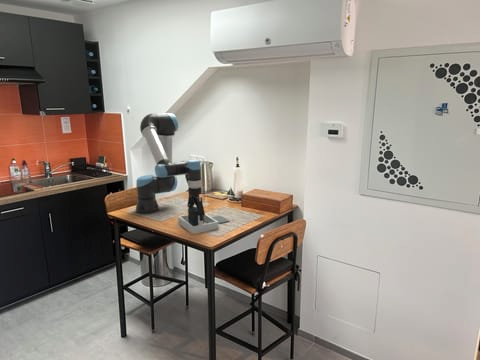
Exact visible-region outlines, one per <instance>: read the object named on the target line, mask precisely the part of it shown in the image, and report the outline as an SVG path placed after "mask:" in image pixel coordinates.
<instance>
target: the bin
mask: <svg viewBox="0 0 480 360" xmlns="http://www.w3.org/2000/svg"><path fill="white" fill-rule="evenodd" d="M177 217H178V218H177V220H178V221H177V222H178V224H179V225H180V226H182V227H183V228H185V229H186V230H187V231H188V232H189V233H190V234H192V235H195V234H199V233H204V232H208V231H213V230H219V226H220V225H219V224H218V221H216V220H214V219H213V218H211V217H212V216H209V215H208V214H206V213H205V215H204V222H206V223H204V224H202V225H197V226H192V225H191V224H190V223H189V219H188V214H183V215H179V216H177Z"/></svg>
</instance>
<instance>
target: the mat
mask: <svg viewBox="0 0 480 360" xmlns="http://www.w3.org/2000/svg"><path fill="white" fill-rule="evenodd" d="M210 217H211V218H213V219H214V220H216V221H218V225H220V224H225V223H229V222H230V220H229V219H227V218H226V217H224V216H222V215H220V214H219V215H216V216H210Z"/></svg>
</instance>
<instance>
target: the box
mask: <svg viewBox="0 0 480 360" xmlns="http://www.w3.org/2000/svg"><path fill="white" fill-rule="evenodd" d="M187 215H188V219H189V221H188V223H190V224H191V225H192V226H197V225H198V211H197V207H196V206H194V207H192V208H189V207H187ZM203 224H205V220H204V215H203Z"/></svg>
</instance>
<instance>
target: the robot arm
mask: <svg viewBox="0 0 480 360" xmlns="http://www.w3.org/2000/svg"><path fill="white" fill-rule="evenodd" d="M139 125H140V127H139V128H140V129H139V130H140V133H141V136H142V137H143V138H145V140H146V143H147V145H148V147H149V149H150V152H151V155H152V157H153V159H154V162H155V164H156V165H155V166H154V173H155V175H153V174H146V175H142V176H140V177H138V178H137V179H136V192H137V193H136V194H137V201H136V205H135V212H136V213H137V212H138V214H152V212H153V213H155V212H158V211H159V210H160V206H159V203H158V201H157V199H156V194H157V195H158V194H164V193H170V192H173V191H175V190H176V189H177V186H178V177H177V176H184V175H187V186H188V188H187V189H188V191H187V193H188V200H187V207H186V208H192V207H197V211H198V225H202V224H203V215H205V214H206V212H205V208H204V204H203V203H204V202H203V197H200V195H201V194H203V193H202V189H203V188H202V166H201V161H200V160H199V159H189V160H180V161H179V162H173V137H174V136H175V134H176V132H177V131H178V129H179V122H178V118H177V116H176V115H175V114H173V113H172V112H170V113H169V112H168V113H167V112H166V113H165V112H164V113H163V112H162V113H161V112H160V113H149V114H146V115H145V116H144V117H143V118H142V120H141V121H140V124H139Z"/></svg>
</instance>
